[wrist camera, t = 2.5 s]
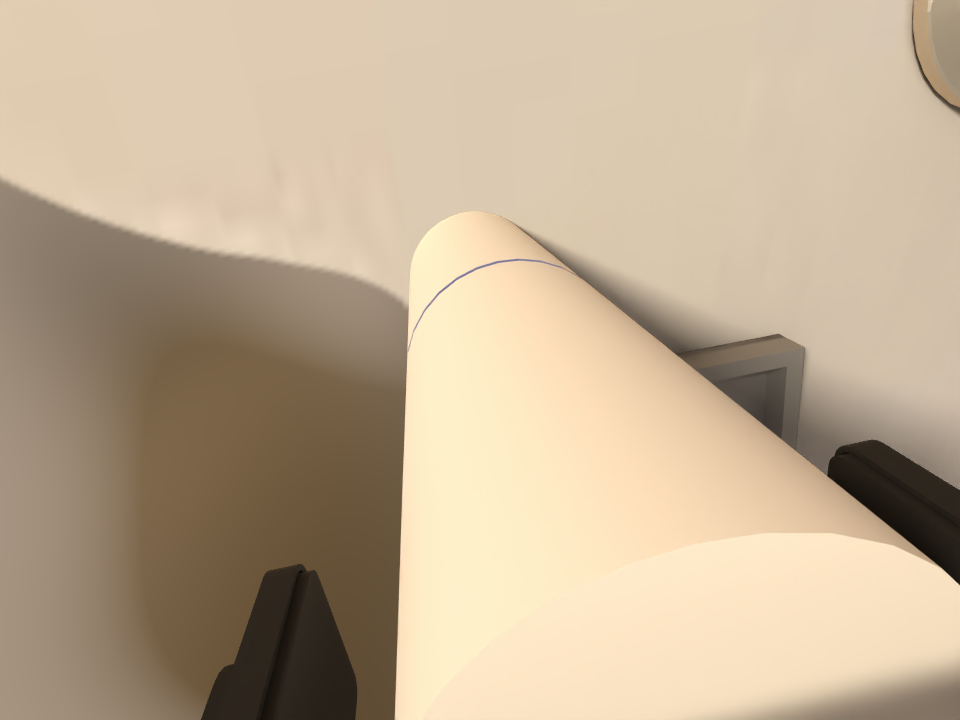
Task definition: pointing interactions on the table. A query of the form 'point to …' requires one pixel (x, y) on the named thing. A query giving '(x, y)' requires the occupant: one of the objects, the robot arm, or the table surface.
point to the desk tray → (757, 379)
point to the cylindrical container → (628, 525)
